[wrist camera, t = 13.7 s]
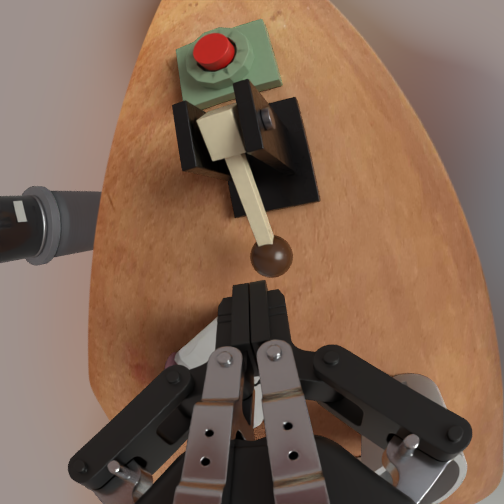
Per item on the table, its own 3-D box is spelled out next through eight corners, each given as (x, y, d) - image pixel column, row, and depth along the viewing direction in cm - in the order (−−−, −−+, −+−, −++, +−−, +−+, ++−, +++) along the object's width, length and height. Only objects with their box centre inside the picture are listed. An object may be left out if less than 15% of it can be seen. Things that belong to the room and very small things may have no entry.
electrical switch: (298, 364, 30) (271, 421, 22) (266, 388, 32) (233, 442, 24) (233, 301, 32) (185, 341, 23) (206, 330, 34) (157, 371, 25)
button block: (191, 113, 30) (175, 104, 27) (182, 55, 30) (167, 42, 26) (282, 85, 27) (275, 71, 24) (265, 26, 26) (257, 9, 23)
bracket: (320, 201, 28) (302, 194, 16) (238, 217, 30) (168, 223, 18) (297, 100, 27) (263, 33, 15) (220, 121, 29) (148, 77, 17)
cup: (386, 448, 29) (389, 525, 17) (345, 405, 29) (338, 485, 18) (452, 408, 26) (479, 480, 14) (416, 357, 27) (443, 430, 15)
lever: (297, 256, 25) (296, 283, 23) (260, 262, 26) (254, 288, 24) (247, 98, 18) (237, 107, 16) (202, 112, 19) (185, 125, 17)
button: (203, 75, 26) (195, 69, 24) (198, 48, 26) (190, 40, 24) (237, 63, 25) (231, 56, 23) (231, 36, 25) (225, 27, 23)
